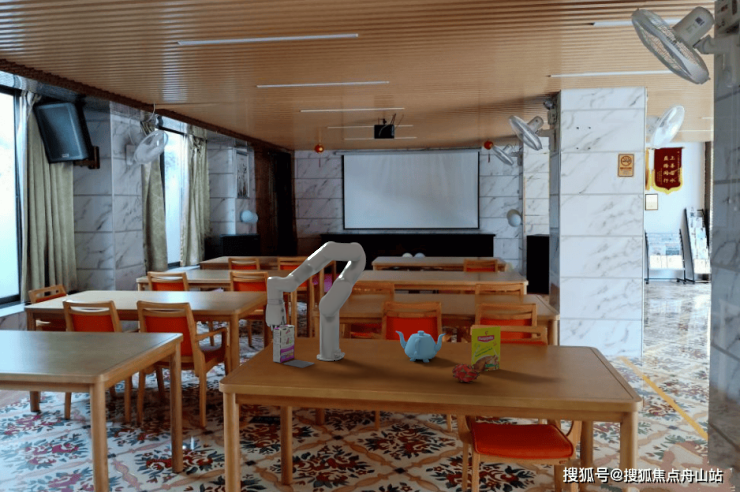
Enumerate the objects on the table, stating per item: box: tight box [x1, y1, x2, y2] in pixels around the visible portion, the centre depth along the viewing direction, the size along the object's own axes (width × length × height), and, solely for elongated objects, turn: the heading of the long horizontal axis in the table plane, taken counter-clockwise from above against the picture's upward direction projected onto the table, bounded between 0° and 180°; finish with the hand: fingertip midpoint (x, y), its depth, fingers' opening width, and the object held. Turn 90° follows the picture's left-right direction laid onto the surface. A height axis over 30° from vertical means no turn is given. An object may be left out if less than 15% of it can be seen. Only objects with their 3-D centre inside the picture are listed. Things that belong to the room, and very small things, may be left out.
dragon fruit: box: [451, 363, 481, 384], centre depth 254 cm, size 8×8×12 cm
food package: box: [470, 326, 502, 373], centre depth 271 cm, size 15×1×20 cm, turn 112°
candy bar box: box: [272, 324, 296, 364], centre depth 289 cm, size 11×5×16 cm, turn 150°
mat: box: [282, 359, 315, 369], centre depth 283 cm, size 12×9×1 cm
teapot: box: [395, 330, 446, 363], centre depth 291 cm, size 16×20×14 cm
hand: (275, 338), depth 292 cm, fingers closed
